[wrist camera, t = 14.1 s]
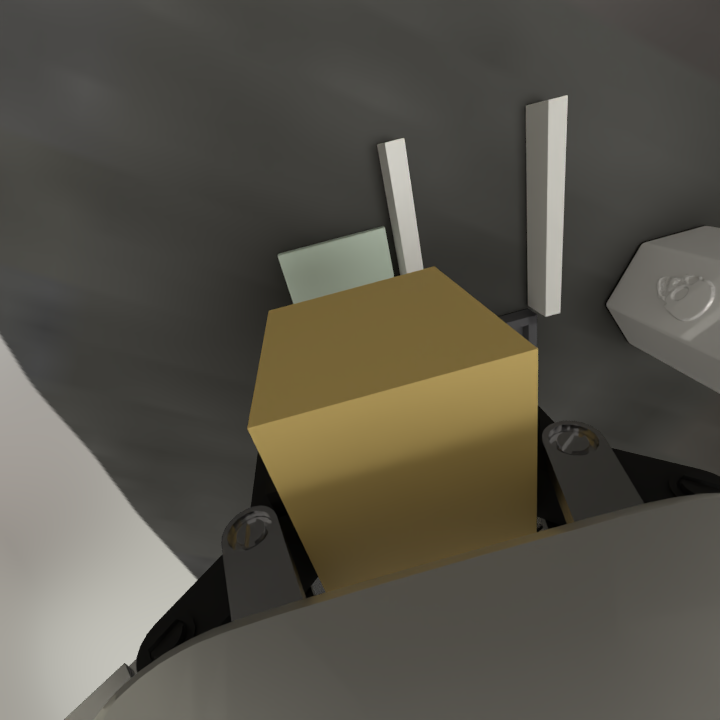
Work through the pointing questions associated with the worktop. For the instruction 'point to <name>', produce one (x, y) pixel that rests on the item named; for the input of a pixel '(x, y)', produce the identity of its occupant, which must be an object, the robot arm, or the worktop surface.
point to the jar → (674, 302)
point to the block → (397, 425)
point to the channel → (542, 202)
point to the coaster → (337, 264)
